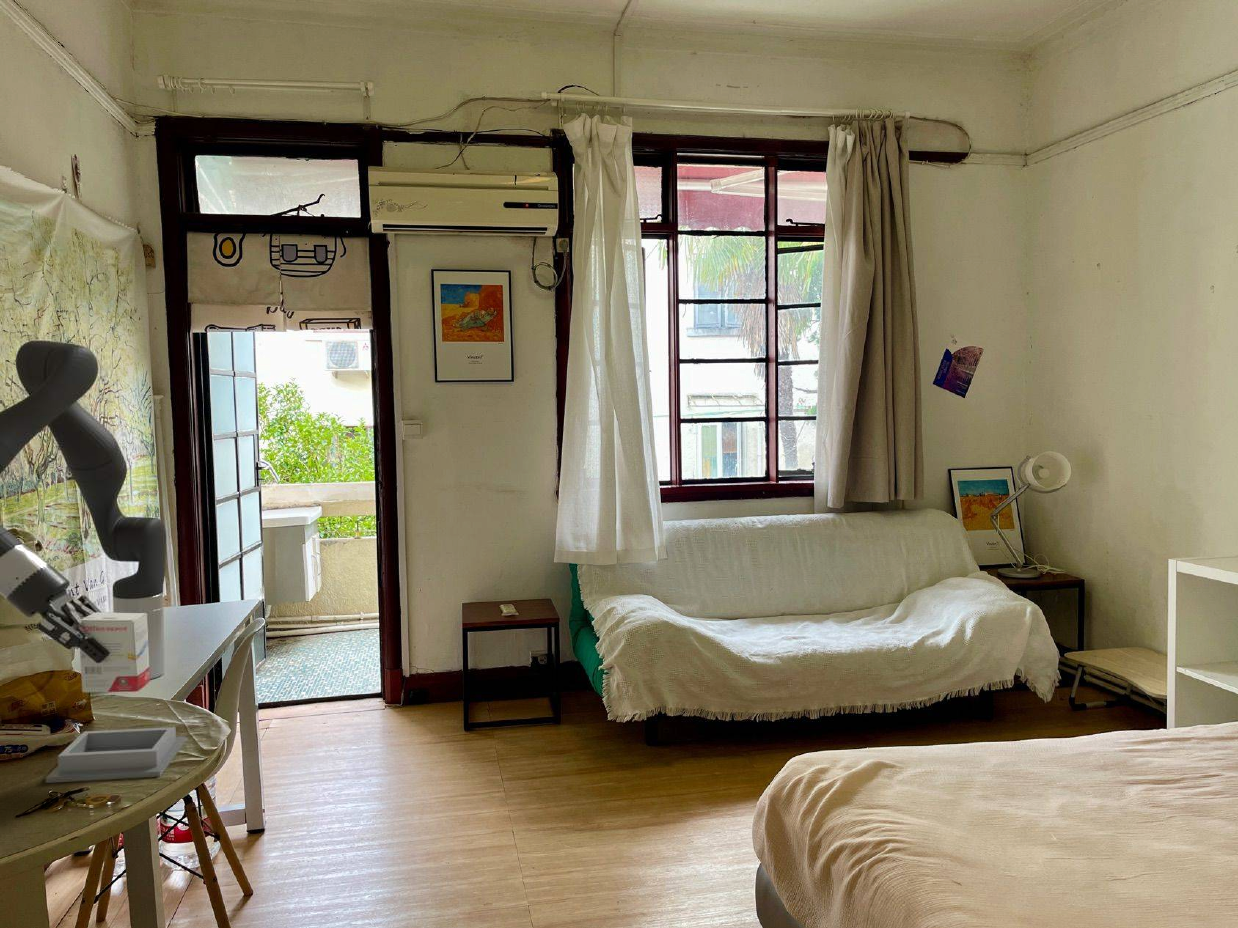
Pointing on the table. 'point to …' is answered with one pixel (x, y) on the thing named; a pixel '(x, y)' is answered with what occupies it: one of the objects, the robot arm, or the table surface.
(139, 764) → the tray
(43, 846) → the table surface
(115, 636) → the ink box
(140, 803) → the table surface
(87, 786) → the table surface
